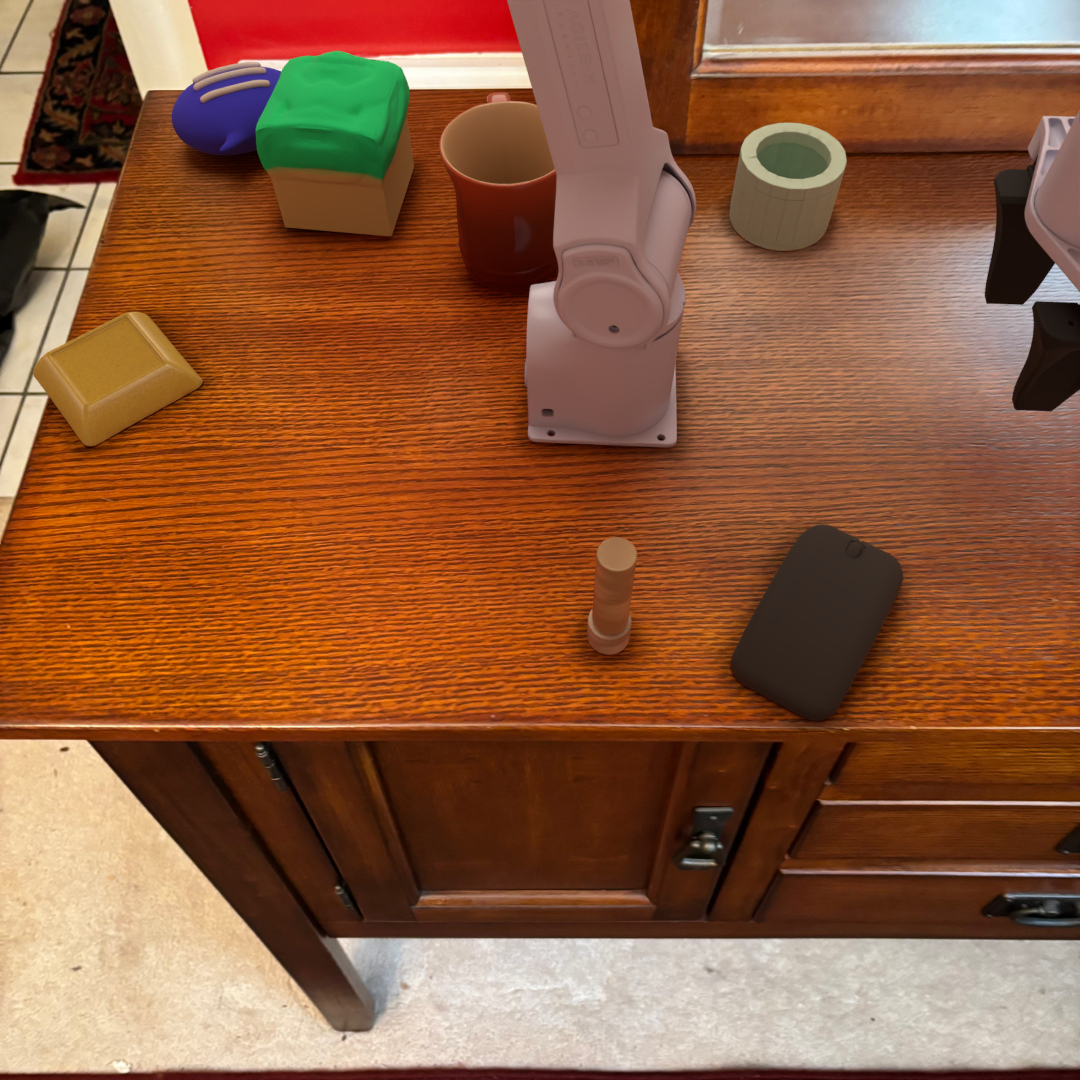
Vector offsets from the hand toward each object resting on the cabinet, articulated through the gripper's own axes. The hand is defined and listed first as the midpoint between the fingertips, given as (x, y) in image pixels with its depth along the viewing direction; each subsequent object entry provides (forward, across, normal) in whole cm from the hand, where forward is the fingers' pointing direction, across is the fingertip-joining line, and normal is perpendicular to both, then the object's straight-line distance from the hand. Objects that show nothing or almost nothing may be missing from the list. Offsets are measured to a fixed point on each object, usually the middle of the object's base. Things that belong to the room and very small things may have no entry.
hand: (1017, 350), depth 53 cm
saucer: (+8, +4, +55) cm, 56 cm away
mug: (+10, +18, +29) cm, 36 cm away
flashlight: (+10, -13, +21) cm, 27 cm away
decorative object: (+6, +25, +50) cm, 56 cm away
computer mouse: (+10, -12, +10) cm, 18 cm away
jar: (+10, +23, +9) cm, 26 cm away
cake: (+10, +24, +42) cm, 49 cm away
